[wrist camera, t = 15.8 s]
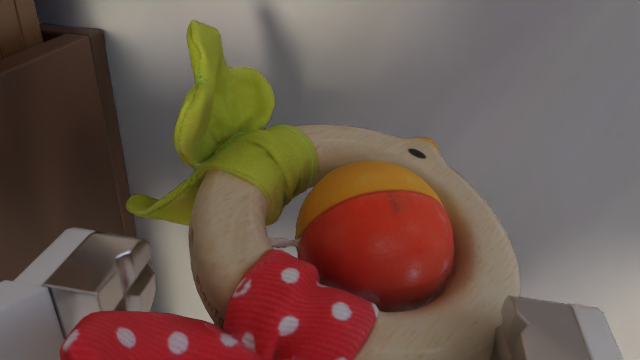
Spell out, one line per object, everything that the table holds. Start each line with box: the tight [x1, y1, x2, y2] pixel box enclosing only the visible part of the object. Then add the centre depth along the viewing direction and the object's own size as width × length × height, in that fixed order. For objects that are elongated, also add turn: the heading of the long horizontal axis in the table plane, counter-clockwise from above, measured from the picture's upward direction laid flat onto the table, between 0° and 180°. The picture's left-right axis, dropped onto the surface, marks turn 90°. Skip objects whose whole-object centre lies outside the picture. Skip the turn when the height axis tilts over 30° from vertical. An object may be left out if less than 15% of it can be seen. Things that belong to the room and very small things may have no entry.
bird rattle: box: [59, 20, 520, 360], centre depth 10 cm, size 6×11×9 cm
